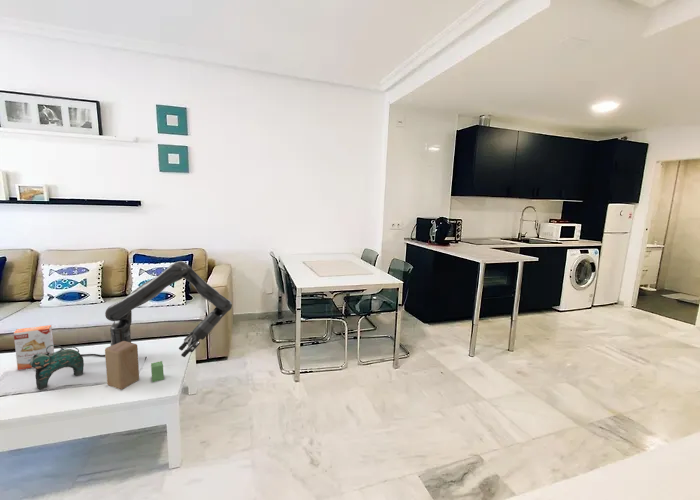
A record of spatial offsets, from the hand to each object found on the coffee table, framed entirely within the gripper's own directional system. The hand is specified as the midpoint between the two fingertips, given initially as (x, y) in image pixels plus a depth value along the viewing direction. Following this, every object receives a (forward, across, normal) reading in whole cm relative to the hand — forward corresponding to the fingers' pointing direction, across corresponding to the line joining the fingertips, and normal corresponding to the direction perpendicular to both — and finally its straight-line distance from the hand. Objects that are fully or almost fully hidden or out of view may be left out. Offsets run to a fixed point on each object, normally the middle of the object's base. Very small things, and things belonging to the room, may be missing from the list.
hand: (181, 352), depth 177 cm
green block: (+16, +1, 0) cm, 16 cm away
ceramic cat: (+45, -20, -29) cm, 57 cm away
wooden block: (+26, -2, -10) cm, 28 cm away
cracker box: (+53, -44, -37) cm, 79 cm away
